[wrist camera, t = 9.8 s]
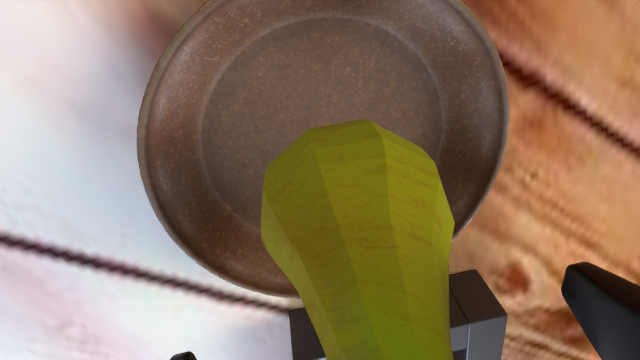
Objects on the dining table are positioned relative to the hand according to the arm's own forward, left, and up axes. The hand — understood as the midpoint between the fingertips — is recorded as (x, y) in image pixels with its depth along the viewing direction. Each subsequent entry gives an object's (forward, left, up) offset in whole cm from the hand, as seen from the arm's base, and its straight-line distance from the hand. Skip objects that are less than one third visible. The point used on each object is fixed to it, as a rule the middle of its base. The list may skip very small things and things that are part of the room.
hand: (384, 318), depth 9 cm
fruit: (0, 0, -7) cm, 7 cm away
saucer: (0, 0, -10) cm, 10 cm away
